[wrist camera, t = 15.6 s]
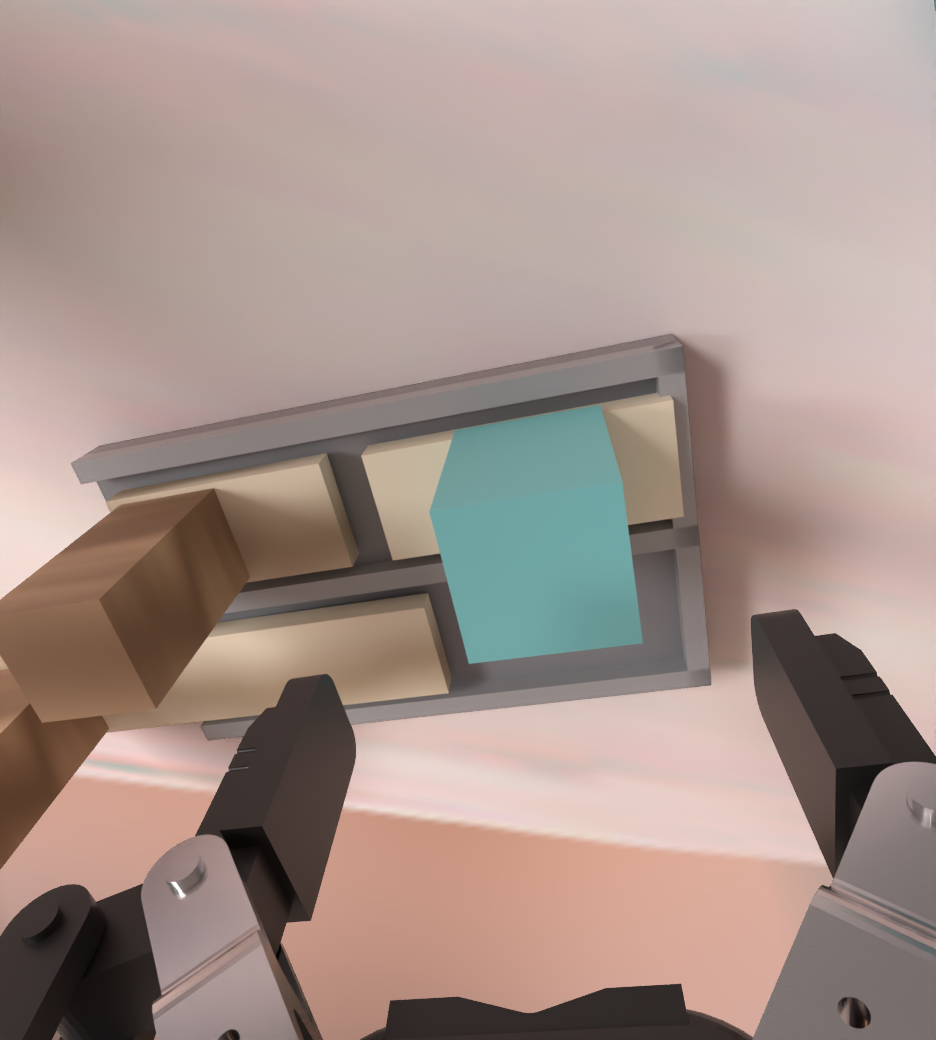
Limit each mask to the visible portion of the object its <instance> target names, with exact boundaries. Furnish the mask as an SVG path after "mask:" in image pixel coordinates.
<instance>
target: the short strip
mask: <svg viewBox="0 0 936 1040" xmlns="http://www.w3.org/2000/svg"><path fill="white" fill-rule="evenodd" d="M106 503H107V505H108V508H109V510H110V512H111V513H110V514H108V515H107V516H106V517H105V518H103V519H102V520H101V521H99V522H98V523H97V524H96V525H94V526H93V527H92V528H91V529H89V530H88V531H87V532H86V533H84V534H83V535H82V536H80V537H79V538H78V539H77V540H75V541H74V542H73V543H72V544H70V545H69V546H68V547H67V548H65V549H64V550H63V551H61V552H60V553H59V554H58V555H56V556H55V557H54V558H53V559H51V560H50V561H49V562H48V563H46V564H45V565H44V566H43V567H41V568H40V569H39V570H37V571H36V572H35V573H34V574H32V575H31V576H30V577H29V578H27V579H26V580H25V581H24V582H22V583H21V584H20V585H18V586H17V587H16V588H15V589H13V590H12V591H11V592H10V593H8V594H7V595H6V596H5V597H3V598H2V599H1V600H0V656H1V657H2V659H3V660H4V662H5V664H6V665H7V667H8V668H9V670H10V672H11V673H12V675H13V677H14V678H15V680H16V681H17V683H18V685H19V686H20V688H21V689H22V691H23V693H24V694H25V696H26V698H27V699H28V701H29V702H30V704H31V706H32V707H33V709H34V710H35V712H36V714H37V715H38V717H39V719H40V720H41V722H42V723H44V722H53V721H61V720H70V719H78V718H86V717H95V716H103V715H111V714H120V713H128V712H136V711H145V710H153V709H156V708H157V707H158V706H159V704H160V703H161V701H162V700H163V699H164V697H165V696H166V694H167V693H168V692H169V690H170V689H171V687H172V686H173V685H174V683H175V682H176V680H177V679H178V678H179V676H180V675H181V673H182V672H183V671H184V669H185V668H186V666H187V665H188V664H189V662H190V661H191V659H192V658H193V657H194V655H195V654H196V652H197V651H198V650H199V648H200V647H201V645H202V644H203V643H204V641H205V640H206V638H207V637H208V636H209V634H210V633H211V631H212V630H213V629H214V627H215V626H216V624H217V623H218V622H219V620H220V619H221V617H222V616H223V614H224V613H225V612H226V610H227V609H228V607H229V606H230V605H231V603H232V602H233V600H234V599H235V598H236V596H237V595H238V593H239V592H240V591H241V589H242V588H243V586H244V585H245V584H246V583H247V582H254V581H261V580H267V579H274V578H281V577H287V576H294V575H300V574H307V573H314V572H320V571H327V570H334V569H340V568H347V567H353V565H354V563H355V560H356V558H357V556H358V554H359V551H358V548H357V545H356V542H355V539H354V536H353V533H352V530H351V527H350V524H349V521H348V517H347V514H346V511H345V508H344V505H343V502H342V499H341V496H340V493H339V490H338V487H337V483H336V480H335V477H334V474H333V471H332V468H331V465H330V462H329V459H328V456H327V453H324V454H318V455H313V456H307V457H302V458H296V459H291V460H285V461H280V462H274V463H269V464H263V465H258V466H252V467H247V468H241V469H236V470H230V471H225V472H219V473H214V474H208V475H203V476H197V477H192V478H186V479H181V480H175V481H170V482H164V483H159V484H153V485H148V486H142V487H137V488H131V489H126V490H121V491H119V492H118V493H117V494H115V495H114V496H113V497H112V498H110V499H109V500H108V501H106Z"/></svg>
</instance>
